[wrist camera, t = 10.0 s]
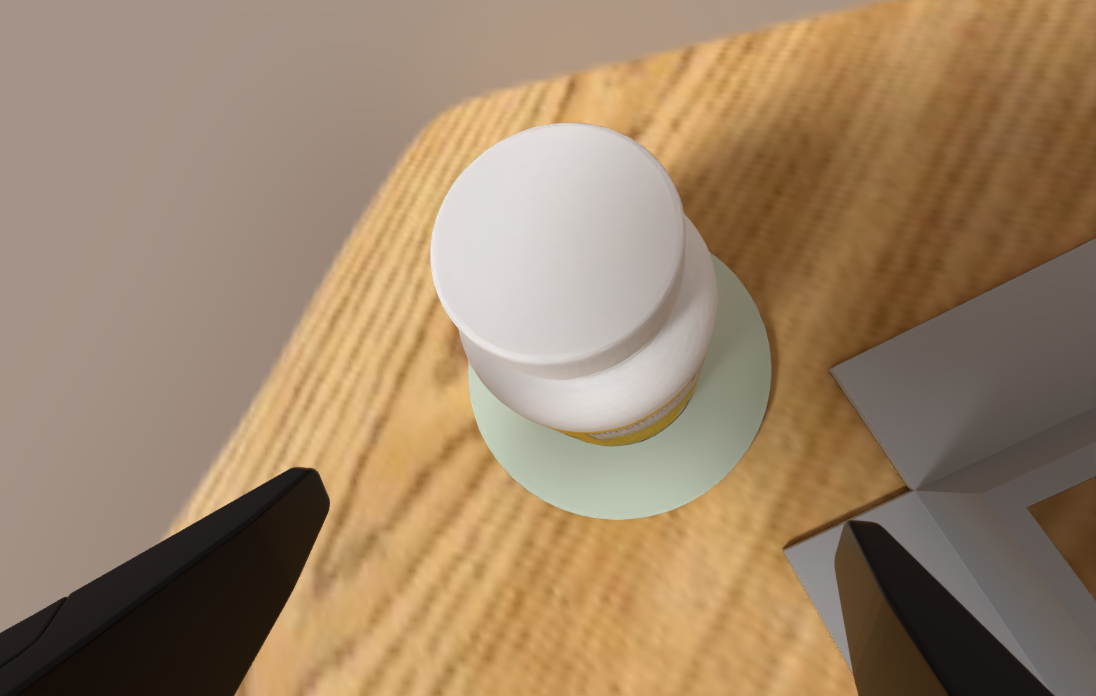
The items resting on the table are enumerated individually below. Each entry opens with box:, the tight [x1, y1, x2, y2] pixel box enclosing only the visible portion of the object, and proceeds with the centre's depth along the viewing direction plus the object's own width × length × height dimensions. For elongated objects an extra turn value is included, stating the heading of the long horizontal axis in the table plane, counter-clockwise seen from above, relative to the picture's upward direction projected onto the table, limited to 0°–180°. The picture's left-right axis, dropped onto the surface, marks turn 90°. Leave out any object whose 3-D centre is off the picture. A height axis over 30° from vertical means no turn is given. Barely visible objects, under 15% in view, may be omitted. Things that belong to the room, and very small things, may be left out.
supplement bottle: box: [430, 122, 718, 446], centre depth 12 cm, size 5×5×10 cm
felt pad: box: [468, 252, 772, 520], centre depth 17 cm, size 10×10×1 cm
